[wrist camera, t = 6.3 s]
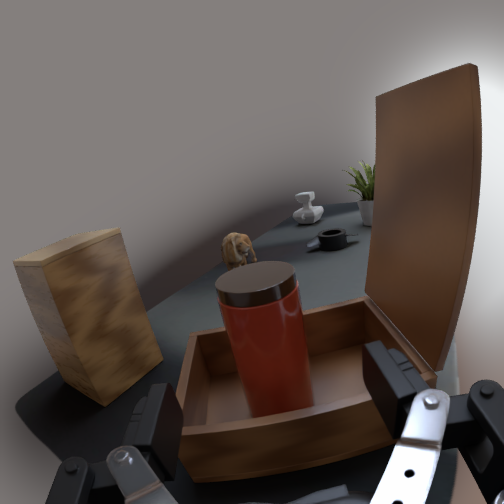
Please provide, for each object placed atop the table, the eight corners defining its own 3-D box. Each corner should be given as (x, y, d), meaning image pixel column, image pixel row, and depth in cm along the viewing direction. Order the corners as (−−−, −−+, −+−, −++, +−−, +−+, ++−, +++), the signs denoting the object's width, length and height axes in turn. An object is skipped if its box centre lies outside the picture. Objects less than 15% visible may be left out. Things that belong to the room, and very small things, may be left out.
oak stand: (105, 407, 29) (41, 267, 24) (64, 381, 34) (14, 265, 29) (163, 359, 37) (121, 232, 32) (116, 345, 42) (78, 238, 38)
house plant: (410, 215, 77) (403, 152, 72) (399, 230, 67) (391, 156, 62) (361, 216, 86) (352, 157, 81) (342, 230, 76) (332, 162, 71)
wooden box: (194, 483, 19) (166, 436, 17) (205, 378, 32) (190, 332, 30) (426, 431, 19) (437, 375, 17) (369, 343, 32) (367, 295, 30)
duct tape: (317, 240, 72) (315, 228, 71) (360, 239, 66) (359, 226, 65) (304, 252, 65) (302, 238, 65) (351, 252, 60) (349, 237, 59)
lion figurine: (257, 284, 54) (246, 232, 52) (226, 290, 55) (214, 239, 52) (257, 257, 68) (249, 216, 66) (232, 262, 69) (223, 221, 66)
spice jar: (263, 438, 22) (225, 302, 18) (240, 398, 27) (205, 276, 24) (327, 410, 23) (311, 273, 20) (297, 376, 28) (275, 254, 25)
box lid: (469, 62, 12) (516, 83, 12) (375, 96, 25) (415, 103, 25) (434, 372, 17) (480, 361, 17) (364, 291, 30) (401, 289, 30)
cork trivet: (41, 267, 24) (40, 260, 24) (14, 265, 29) (12, 260, 29) (121, 232, 32) (119, 227, 32) (78, 238, 38) (77, 233, 37)
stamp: (314, 226, 85) (309, 195, 82) (292, 227, 88) (287, 197, 86) (326, 217, 92) (322, 188, 89) (306, 218, 95) (301, 191, 93)
